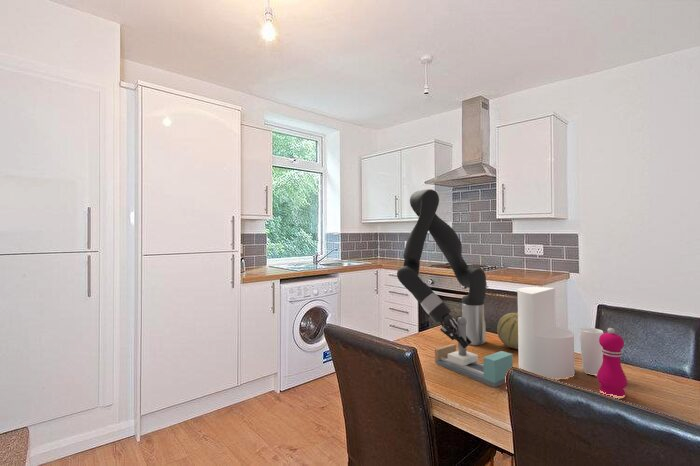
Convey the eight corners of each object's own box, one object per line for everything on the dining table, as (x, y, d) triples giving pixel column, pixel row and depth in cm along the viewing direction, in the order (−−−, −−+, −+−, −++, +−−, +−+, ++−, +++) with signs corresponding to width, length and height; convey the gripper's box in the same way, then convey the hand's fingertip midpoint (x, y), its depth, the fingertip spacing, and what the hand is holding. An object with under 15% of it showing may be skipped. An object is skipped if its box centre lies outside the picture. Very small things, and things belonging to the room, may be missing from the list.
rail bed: (452, 357, 136) (452, 335, 136) (512, 379, 115) (512, 354, 115) (435, 363, 131) (434, 340, 131) (494, 387, 110) (494, 360, 110)
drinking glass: (600, 371, 121) (599, 328, 121) (607, 379, 115) (606, 333, 114) (577, 368, 123) (577, 326, 123) (583, 376, 117) (583, 332, 117)
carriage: (461, 355, 131) (461, 313, 131) (477, 360, 125) (477, 317, 125) (447, 359, 127) (446, 316, 127) (463, 365, 121) (462, 320, 121)
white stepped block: (509, 368, 125) (508, 290, 125) (532, 357, 135) (531, 285, 135) (562, 384, 111) (560, 297, 111) (582, 370, 121) (581, 291, 121)
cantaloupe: (509, 340, 156) (508, 306, 156) (542, 348, 144) (542, 312, 144) (489, 346, 148) (489, 311, 148) (523, 356, 136) (522, 318, 136)
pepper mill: (591, 389, 107) (590, 325, 107) (613, 388, 108) (612, 324, 108) (610, 401, 100) (609, 332, 100) (634, 399, 101) (633, 330, 100)
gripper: (434, 304, 125) (469, 344, 118) (448, 298, 136) (481, 334, 129) (421, 317, 128) (454, 357, 121) (436, 310, 139) (467, 346, 132)
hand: (467, 345), depth 125 cm, fingers closed on carriage, 3 cm apart
